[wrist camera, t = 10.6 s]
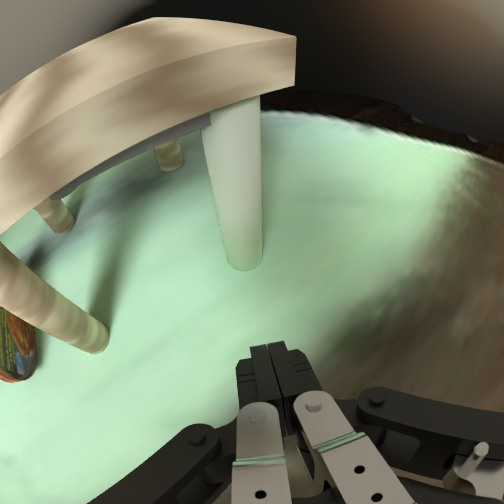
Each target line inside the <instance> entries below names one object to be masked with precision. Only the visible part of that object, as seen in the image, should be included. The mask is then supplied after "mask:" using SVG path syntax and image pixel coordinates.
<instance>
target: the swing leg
mask: <svg viewBox="0 0 504 504" xmlns="http://www.w3.org/2000/svg"><path fill="white" fill-rule="evenodd" d="M199 129H200V131H201V137H202V142H203V147H204V152H205V157H206V162H207V167H208V172H209V177H210V182H211V187H212V192H213V197H214V201H215V206H216V211H217V216H218V220H219V225H220V229H221V234H222V239H223V243H224V248H225V252H226V257H227V261H228V263H229V264H230V265H231V266H232V267H233V268H234V269H236V270H239V271H248V270H252V269H254V268H255V267H257V266H258V265H259V264H260V262H261V260H262V181H261V127H260V95H257V96H253V97H250V98H247V99H244V100H241V101H238V102H235V103H232V104H229V105H226V106H223V107H220V108H217V109H215V110H212V111H209V112H207V113H204V114H201V115H199V116H196V117H194V118H191V119H189V120H186V121H184V122H182V123H179V124H177V125H175V126H172V127H170V128H168V129H166V130H163V131H161V132H159V133H157V134H155V135H153V136H151V137H149V138H147V139H144V140H142V141H140V142H138V143H136V144H135V145H133V146H131V147H129V148H127V149H125V150H123V151H121V152H119V153H117V154H116V155H114V156H112V157H110V158H108V159H107V160H105V161H103V162H101V163H100V164H98V165H96V166H95V167H93V168H91V169H90V170H88V171H86V172H85V173H83V174H82V175H80V176H78V177H77V178H75V179H74V180H72V181H71V182H69V183H68V184H66V185H65V186H63V187H62V188H60V189H59V190H57V191H56V192H54V193H53V194H52V195H50V196H49V198H50V199H51V200H59V199H61V198H64V197H65V196H67V195H68V194H70V193H71V192H72V191H74V190H75V189H76V188H77V187H78V185H80V184H82V183H83V182H85V181H87V180H89V179H91V178H92V177H94V176H96V175H98V174H100V173H102V172H104V171H106V170H108V169H109V168H111V167H113V166H115V165H117V164H119V163H121V162H124V161H126V160H128V159H130V158H132V157H134V156H136V155H138V154H141V153H143V152H145V151H147V150H149V149H152V148H154V147H156V146H159V145H161V144H163V143H166V142H168V141H171V140H173V139H176V138H178V137H181V136H183V135H186V134H189V133H191V132H194V131H197V130H199Z"/></svg>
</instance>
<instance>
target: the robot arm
mask: <svg viewBox="0 0 504 504" xmlns="http://www.w3.org/2000/svg"><path fill="white" fill-rule="evenodd" d="M267 348H268V349H267ZM250 351H251V357H252V358H248V359H242V360H239V362H238V364H237V366H236V378H237V388H238V398H239V407H240V410H239V412H238V415H237V417H236V418H235V419H234V420H233V421H232V422H230V423H229V424H227V425H225V426H222V427H219V428H216V429H214V428H213V427H212V426H210V425H207V424H193V425H189V426H187V427H185V428H184V429H182V430H181V431H180V432H179V433H178V434H177V435H176V436H174V437H173V438H172V439H171V440H170V441H169V442H167V443H166V444H165V445H164V446H163V447H162V448H160V449H159V450H158V451H157V452H156V453H154V454H153V455H152V456H151V457H149V458H148V459H147V460H146V461H144V462H143V463H142V464H141V465H139V466H138V467H137V468H136V469H134V470H133V471H132V472H130V473H129V474H128V475H126V476H125V477H124V478H123V479H121V480H120V481H118V482H117V483H116V484H114V485H113V486H112V487H110V488H109V489H107V490H106V491H105V492H103V493H102V494H100V495H99V496H97V497H96V498H95V499H93V500H92V501H90V502H89V503H87V504H212V503H213V502H214V501H215V500H216V499H217V498H218V497H219V495H220V494H221V493H222V492H223V491H224V490H225V489H226V488H227V487H228V486H229V485H230V483H231V482H232V504H504V501H503V500H501V499H502V496H503V493H504V413H501V412H494V411H487V410H481V409H475V408H470V407H464V406H459V405H454V404H449V403H444V402H440V401H435V400H431V399H427V398H422V397H418V396H414V395H410V394H406V393H403V392H399V391H395V390H392V389H388V388H384V387H372V388H368V389H366V390H364V391H363V392H362V393H361V394H360V395H359V397H358V399H351V400H338V399H334V398H332V397H331V395H329V394H328V393H326V392H324V391H323V389H322V387H321V385H320V383H319V381H318V379H317V377H316V375H315V373H314V371H313V369H312V367H311V365H310V363H309V361H308V359H307V357H306V355H305V354H304V353H303V352H301V351H300V350H298V349H295V350H290V351H288V350H287V348H286V345H285V343H284V341H279V342H274V343H269V344H267V346H266V344H264V345H258V346H252V347H250ZM285 427H286V430H285ZM286 431H287V434H288V436H291V435H294V436H295V439H296V444H297V451H298V454H299V456H300V458H301V461H302V463H303V465H304V468H305V470H306V472H307V475H308V477H309V479H310V481H311V484H312V487H313V491H314V495H315V496H313V497H309V498H291V495H290V488H289V482H288V475H287V468H286V462H285V456H284V449H285V447H284V439H283V437H286ZM389 466H391V467H394V468H397V469H400V470H403V471H407V472H410V473H414V474H417V475H421V476H425V477H429V478H433V479H437V480H442V482H443V485H444V488H440V487H436V486H432V485H429V484H425V483H422V482H419V481H415V480H412V479H409V478H405V477H400V476H396V475H395V474H394V473H393V471H392V470H391V468H390V467H389Z"/></svg>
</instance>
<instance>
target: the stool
mask: <svg viewBox="0 0 504 504" xmlns="http://www.w3.org/2000/svg"><path fill="white" fill-rule="evenodd" d="M295 54H296V37H295V36H292V35H288V34H284V33H280V32H276V31H272V30H267V29H263V28H258V27H253V26H247V25H242V24H236V23H228V22H221V21H213V20H203V19H190V18H160V17H159V18H158V17H157V18H150V19H147V20H144V21H141V22H138V23H135V24H132V25H129V26H126V27H124V28H121V29H118V30H115V31H113V32H110V33H108V34H105V35H103V36H101V37H98V38H96V39H94V40H91V41H89V42H87V43H85V44H83V45H81V46H79V47H77V48H75V49H73V50H71V51H69V52H67V53H65V54H63V55H61V56H60V57H58V58H56V59H54V60H52V61H51V62H49V63H47V64H46V65H44V66H42V67H41V68H39V69H38V70H36V71H34V72H33V73H31V74H30V75H28V76H27V77H25V78H24V79H23V80H21V81H20V82H18V83H17V84H15V85H14V86H13V87H11V88H10V89H9V90H7V91H6V92H5V93H3V94H2V95H1V96H0V235H1V234H2V233H3V232H4V231H6V230H7V229H8V228H9V227H10V226H11V225H13V224H14V223H15V222H16V221H17V220H19V219H20V218H21V217H22V216H24V215H25V214H26V213H27V212H29V211H30V210H31V209H33V208H35V210H36V211H37V212H38V213H39V215H40V216H41V217H42V218H43V219H44V221H45V222H46V223H47V224H48V225H49V226H50V228H51V229H52V230H53V231H54V232H55V233H56V235H57V236H64V235H66V234H67V233H69V232H70V231H71V229H72V228H73V226H74V223H75V219H74V217H73V216H72V214H71V213H70V212H69V210H68V209H67V207H66V206H65V205H64V203H63V202H62V201H61V199H59V200H51V199H50V198H49V196H50V195H52V194H53V193H54V192H56V191H57V190H59V189H60V188H62V187H63V186H65V185H66V184H68V183H69V182H71V181H72V180H74V179H75V178H77V177H78V176H80V175H82V174H83V173H85V172H86V171H88V170H90V169H91V168H93V167H95V166H96V165H98V164H100V163H101V162H103V161H105V160H107V159H108V158H110V157H112V156H114V155H116V154H117V153H119V152H121V151H123V150H125V149H127V148H129V147H131V146H133V145H135V144H136V143H138V142H140V141H142V140H144V139H147V138H149V137H151V136H153V135H155V134H157V133H159V132H161V131H163V130H166V129H168V128H170V127H172V126H175V125H177V124H179V123H182V122H184V121H186V120H189V119H191V118H194V117H196V116H199V115H201V114H204V113H207V112H209V111H212V110H215V109H217V108H220V107H223V106H226V105H229V104H232V103H235V102H238V101H241V100H244V99H247V98H250V97H253V96H257V95H260V94H263V93H267V92H270V91H274V90H278V89H282V88H285V87H289V86H293V85H294V80H295V56H296V55H295ZM153 149H154V152H155V154H156V157H157V160H158V163H159V166H160V169H161V170H163V171H166V172H170V171H174V170H177V169H178V168H180V167H181V166H182V165H183V163H184V158H183V155H182V151H181V147H180V143H179V139H178V138H176V139H173V140H171V141H168V142H166V143H163V144H161V145H159V146H156V147H154V148H153ZM0 306H1V307H3V308H4V309H6V310H8V311H9V312H11V313H12V314H14V315H16V316H17V317H19V318H21V319H22V320H24V321H26V322H28V323H29V324H31V325H33V326H35V327H37V328H38V329H40V330H42V331H44V332H46V333H48V334H50V335H52V336H54V337H56V338H58V339H60V340H62V341H64V342H66V343H68V344H70V345H72V346H74V347H76V348H79V349H81V350H83V351H85V352H88V353H90V354H99V353H101V352H103V351H104V350H105V348H106V347H107V345H108V341H109V332H108V329H107V327H106V326H105V325H104V324H103V323H101V322H100V321H98V320H97V319H95V318H94V317H92V316H91V315H89V314H88V313H86V312H85V311H84V310H82V309H81V308H79V307H78V306H76V305H75V304H74V303H72V302H71V301H70V300H68V299H67V298H65V297H64V296H63V295H62V294H60V293H59V292H58V291H56V290H55V289H54V288H52V287H51V286H50V285H49V284H47V283H46V282H45V281H44V280H42V279H41V278H40V277H39V276H38V275H36V274H35V273H34V272H33V271H32V270H30V269H29V268H28V267H27V266H26V265H25V264H24V263H22V262H21V261H20V260H19V259H18V258H17V257H16V256H15V255H14V254H13V253H11V252H10V251H9V250H8V249H7V248H6V247H5V246H4V245H3V244H2V243H1V242H0Z"/></svg>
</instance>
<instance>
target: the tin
mask: <svg viewBox="0 0 504 504" xmlns="http://www.w3.org/2000/svg"><path fill="white" fill-rule="evenodd" d="M36 366H37V351H36V344H35V335H34V326H33V325H31V324H29V323H28V322H26V321H24V320H22V319H21V318H19V317H17V316H16V315H14V314H12V313H11V312H9V311H8V310H6V309H4V308H3V307H1V306H0V379H1V380H3V381H6V382H10V383H14V382H19V381H23V380H27V379H29V378H30V377H31V376H32V375H33V374H34V372H35V370H36Z"/></svg>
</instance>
